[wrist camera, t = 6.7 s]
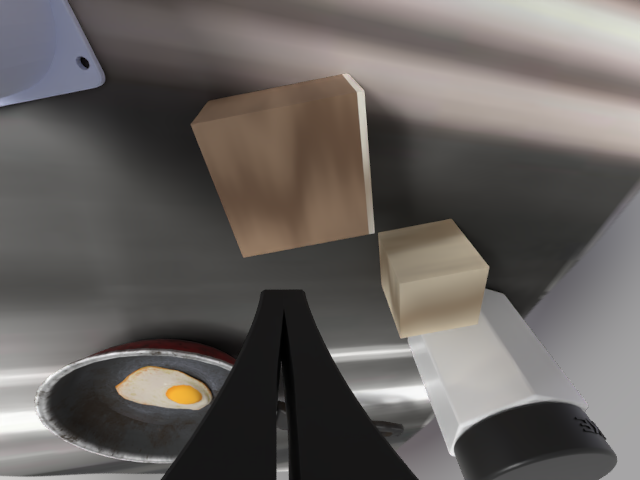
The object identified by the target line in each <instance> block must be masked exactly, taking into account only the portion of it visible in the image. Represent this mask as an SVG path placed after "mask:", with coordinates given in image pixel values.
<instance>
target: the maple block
mask: <svg viewBox="0 0 640 480" xmlns="http://www.w3.org/2000/svg"><path fill="white" fill-rule="evenodd" d="M378 240H379V254H380V269H381V284H382V287H383V290H384V293H385V296H386V299H387V302H388V304H389V307H390V310H391V313H392V316H393V318H394V321H395V324H396V327H397V330H398V332H399V335H400V338H406V337H411V336H417V335H422V334H427V333H433V332H438V331H444V330H449V329H455V328H460V327H466V326H471V325H476V324H478V320H479V315H480V310H481V305H482V301H483V296H484V291H485V286H486V281H487V276H488V272H489V266H488V264H487V263H486V262H485V261H484V259H483V258H482V257H481V256H480V254H479V253H478V252H477V250H476V249H475V248H474V247H473V245H472V244H471V243H470V242H469V240H468V239H467V238H466V236H465V235H464V234H463V233H462V231H461V230H460V229H459V228H458V226H457V225H456V224H455V222H454V221H453V220H452V219H447V220H442V221H437V222H432V223H426V224H421V225H416V226H411V227H405V228H400V229H395V230H389V231H384V232H379V233H378Z"/></svg>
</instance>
